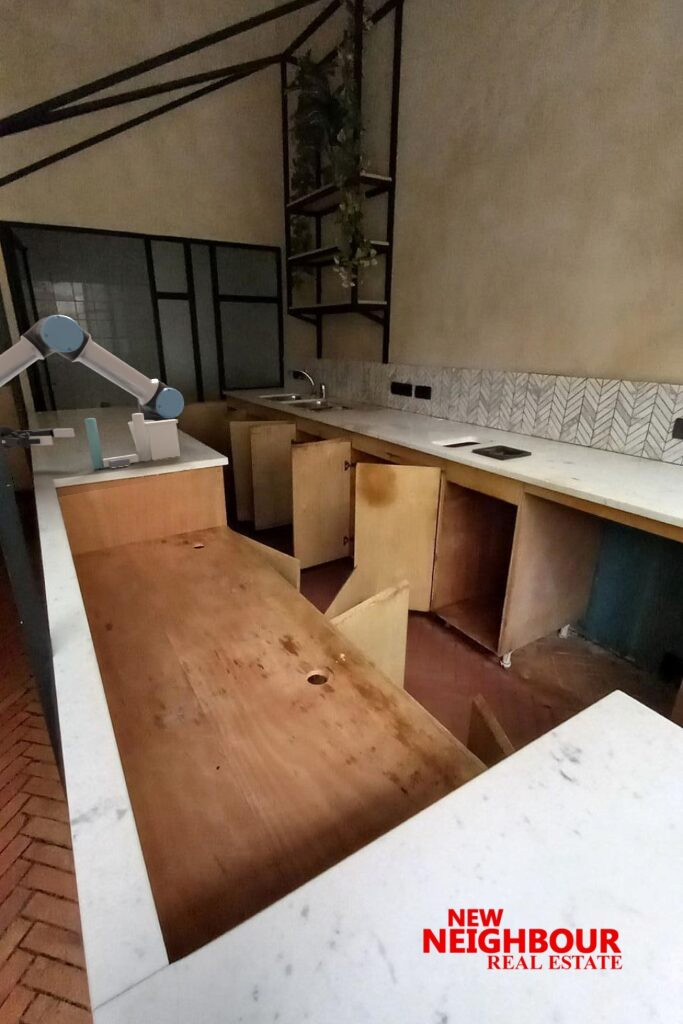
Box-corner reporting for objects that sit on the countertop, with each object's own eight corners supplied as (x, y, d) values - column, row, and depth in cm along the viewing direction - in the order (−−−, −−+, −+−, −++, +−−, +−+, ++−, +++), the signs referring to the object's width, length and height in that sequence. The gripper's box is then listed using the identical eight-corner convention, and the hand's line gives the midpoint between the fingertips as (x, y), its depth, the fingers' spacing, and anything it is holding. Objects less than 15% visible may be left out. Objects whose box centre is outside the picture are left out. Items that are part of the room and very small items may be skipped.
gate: (147, 458, 175) (140, 412, 169) (151, 460, 172) (144, 413, 167) (92, 467, 163) (83, 418, 158) (95, 469, 161) (86, 419, 156)
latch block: (128, 464, 168) (127, 457, 167) (130, 465, 166) (129, 458, 165) (109, 467, 164) (108, 460, 163) (111, 468, 162) (110, 461, 162)
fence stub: (179, 454, 181) (174, 419, 177) (182, 456, 179) (177, 419, 175) (148, 459, 175) (143, 422, 170) (151, 461, 172) (146, 423, 168)
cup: (133, 454, 183) (128, 424, 180) (130, 450, 192) (126, 421, 188) (161, 451, 188) (157, 422, 184) (157, 447, 196) (153, 419, 192)
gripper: (23, 442, 173) (83, 440, 173) (-27, 458, 149) (44, 456, 149) (17, 420, 170) (79, 418, 170) (-34, 433, 147) (38, 431, 147)
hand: (63, 436), depth 160 cm, fingers open, 13 cm apart
